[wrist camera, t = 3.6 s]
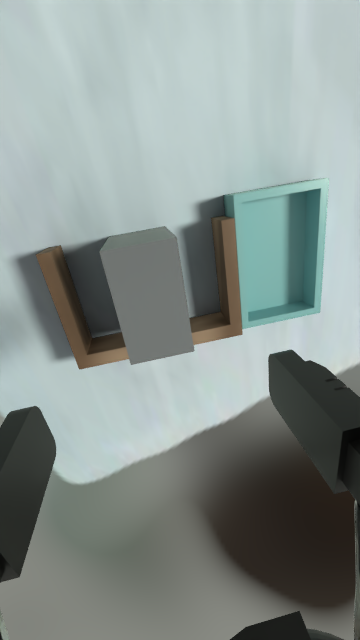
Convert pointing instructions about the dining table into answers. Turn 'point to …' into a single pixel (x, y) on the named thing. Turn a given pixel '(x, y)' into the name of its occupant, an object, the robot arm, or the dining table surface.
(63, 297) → the walnut bay
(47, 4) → the dining table surface
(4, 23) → the dining table surface
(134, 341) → the chamfered grey block
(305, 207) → the teal tray
